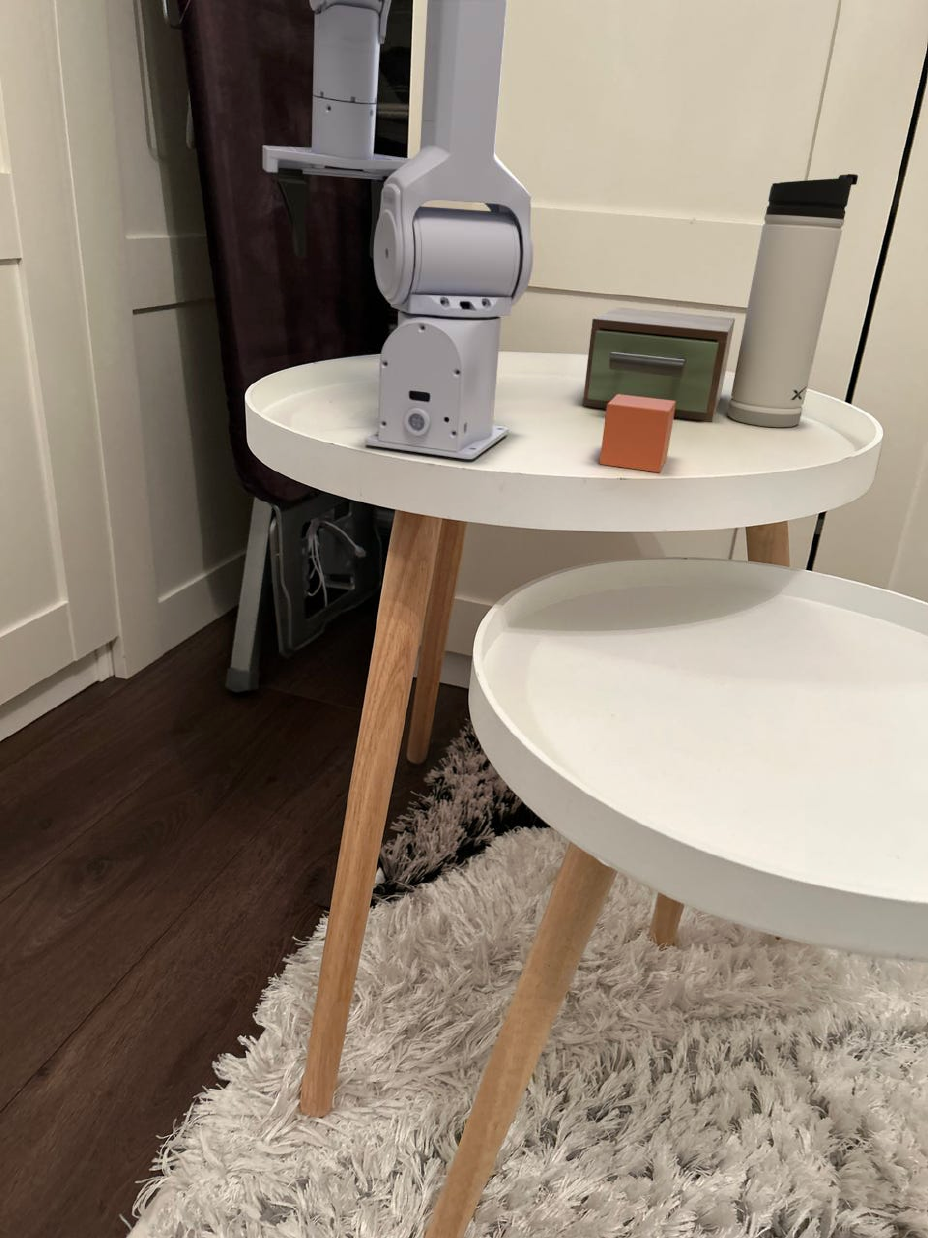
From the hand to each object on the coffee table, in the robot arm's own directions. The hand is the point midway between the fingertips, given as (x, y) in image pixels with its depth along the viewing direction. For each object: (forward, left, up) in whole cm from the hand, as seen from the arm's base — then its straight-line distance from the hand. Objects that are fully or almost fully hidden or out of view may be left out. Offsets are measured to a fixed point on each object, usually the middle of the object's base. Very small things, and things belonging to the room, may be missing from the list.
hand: (338, 257), depth 87 cm
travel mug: (-1, -43, -11) cm, 44 cm away
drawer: (-2, -33, -10) cm, 34 cm away
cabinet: (+2, -33, -11) cm, 34 cm away
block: (-23, -34, -11) cm, 43 cm away
